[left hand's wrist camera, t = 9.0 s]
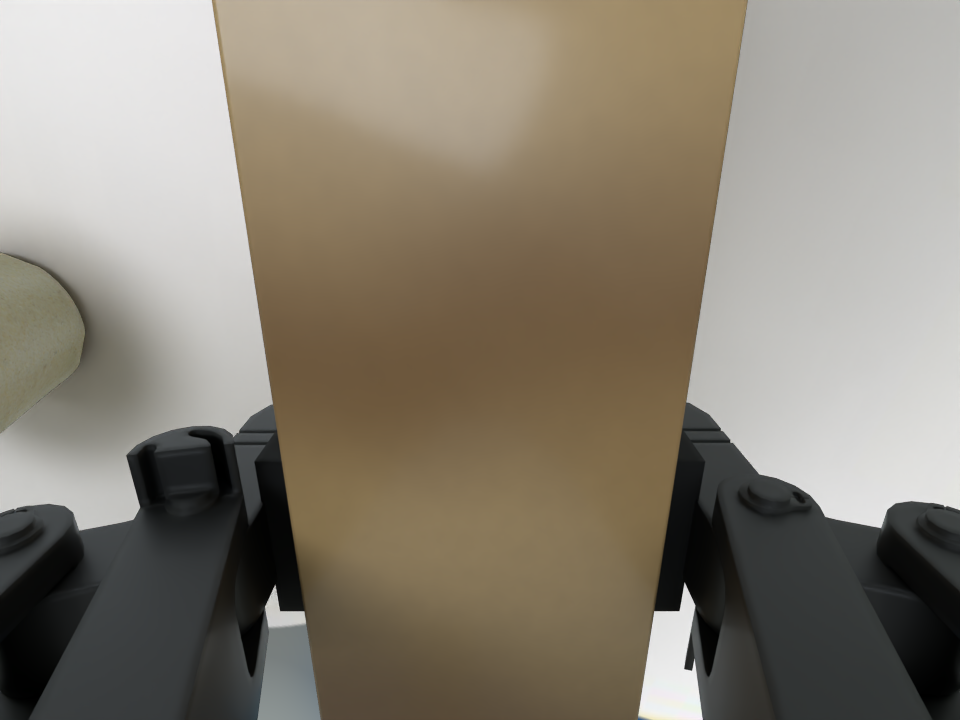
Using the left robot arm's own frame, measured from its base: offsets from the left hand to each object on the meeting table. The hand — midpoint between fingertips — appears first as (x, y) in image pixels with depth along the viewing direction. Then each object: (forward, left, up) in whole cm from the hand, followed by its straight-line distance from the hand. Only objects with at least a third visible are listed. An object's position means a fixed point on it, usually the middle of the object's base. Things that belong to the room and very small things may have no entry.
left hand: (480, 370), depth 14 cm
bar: (+8, +2, -1) cm, 8 cm away
